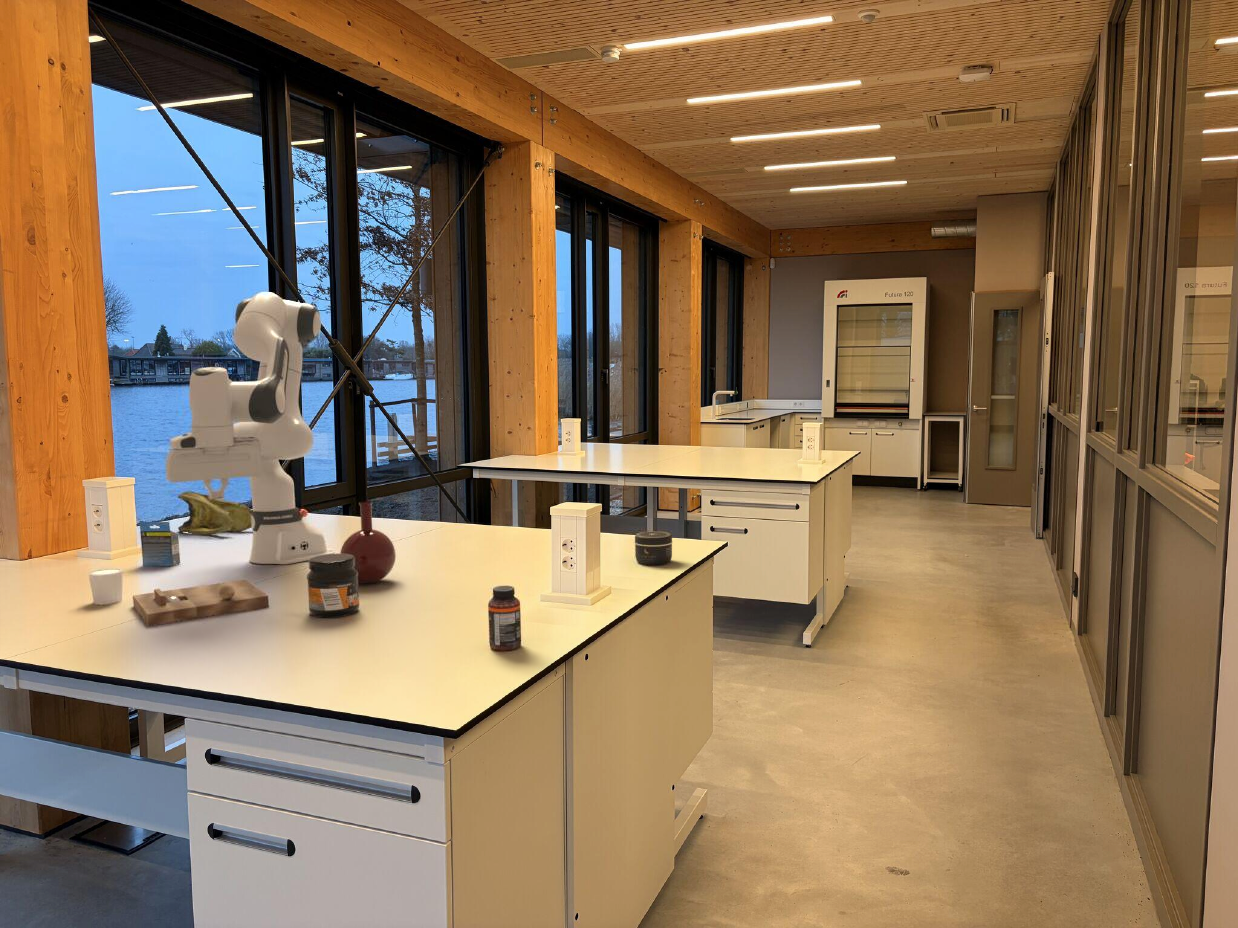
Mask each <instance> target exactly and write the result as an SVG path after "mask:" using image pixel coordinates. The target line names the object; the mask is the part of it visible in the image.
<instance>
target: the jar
mask: <svg viewBox="0 0 1238 928" xmlns="http://www.w3.org/2000/svg"><path fill="white" fill-rule="evenodd" d="M634 549H635V550H634V551H635V552H634V553H635V555H634V557H635V559H636V563H637V564H638V565H641V566H645V567H646V566H649V567H659V566H667V565H668V564H670V563H671V561H672V557H673V535H672V534H671V533H670V532H666V531H656V530H655V531H654V530H653V531H641V532H637V533H635V536H634Z"/></svg>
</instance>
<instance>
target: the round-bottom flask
mask: <svg viewBox="0 0 1238 928" xmlns="http://www.w3.org/2000/svg"><path fill="white" fill-rule="evenodd" d="M358 504H359V506H360V507H359V508H360V530H358V531H355V532H353V533H352V534H351V535H349V536H348V537H347V539H345V541H344V542H343V544H342V545H341V549H340V553H339V554H351V555H353V556H355V566H354V567H355V568H356V569H357V571H358V583H360V584H373V583H376V582H379V581H381V580H383V579H384V578H386V577H387V576H388V575H389V574H390V572H391V571H392V570H393V568H394V565H395V564H396V563H395V562H396V556H397V555H396V548H395V545H394V543H393V542H392V540H391V538H390V537H389V536H388V535H386V534H385V533H383V532H382V531H379V530H376V529H373V513H372V512H373V511H372V505H373V501H366V500H365V501H360V502H358Z"/></svg>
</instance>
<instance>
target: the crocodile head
mask: <svg viewBox="0 0 1238 928" xmlns="http://www.w3.org/2000/svg"><path fill="white" fill-rule="evenodd" d="M177 499H180V500H182V501H184V502H185V503H186V504H187V505H188V508H187V509H188V512H189V518H188V519H187V520H186V521H183V523H182V525H180V526H177V529H178V531H179V532H180V531H182V532H188V533H192V534H191V535H193V534H202V535H201V536H209V535H215V534H219V533H224V532H233V533H238V532H243V531H248V529H252V526H251V511H252V510H253V508H250V507H248V506H247V505H245V504H243V503H240V502H236V501H229V500H226V499H223V498H221V499H210V498H209V494H203V493H199V492H195V491H184V492H182V493H179V494H178V497H177ZM182 532H181V533H182Z"/></svg>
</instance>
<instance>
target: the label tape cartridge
mask: <svg viewBox="0 0 1238 928" xmlns="http://www.w3.org/2000/svg"><path fill="white" fill-rule="evenodd" d="M154 526H156V527H154ZM152 527H153V528H152ZM158 527H159V528H158ZM139 529H140V532H139V533H140V543H141V546H140V547H141V554H142V555H141V556H142V566H143V567H174V565H175V566H177V565H176V564H178V565H180V564H181V558H180V557H181V555H180V554H181V553H180V542H179V541H180V539H179V534H178V533H177V532H174V531H171V526H170V521H139ZM179 563H180V564H179Z"/></svg>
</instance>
